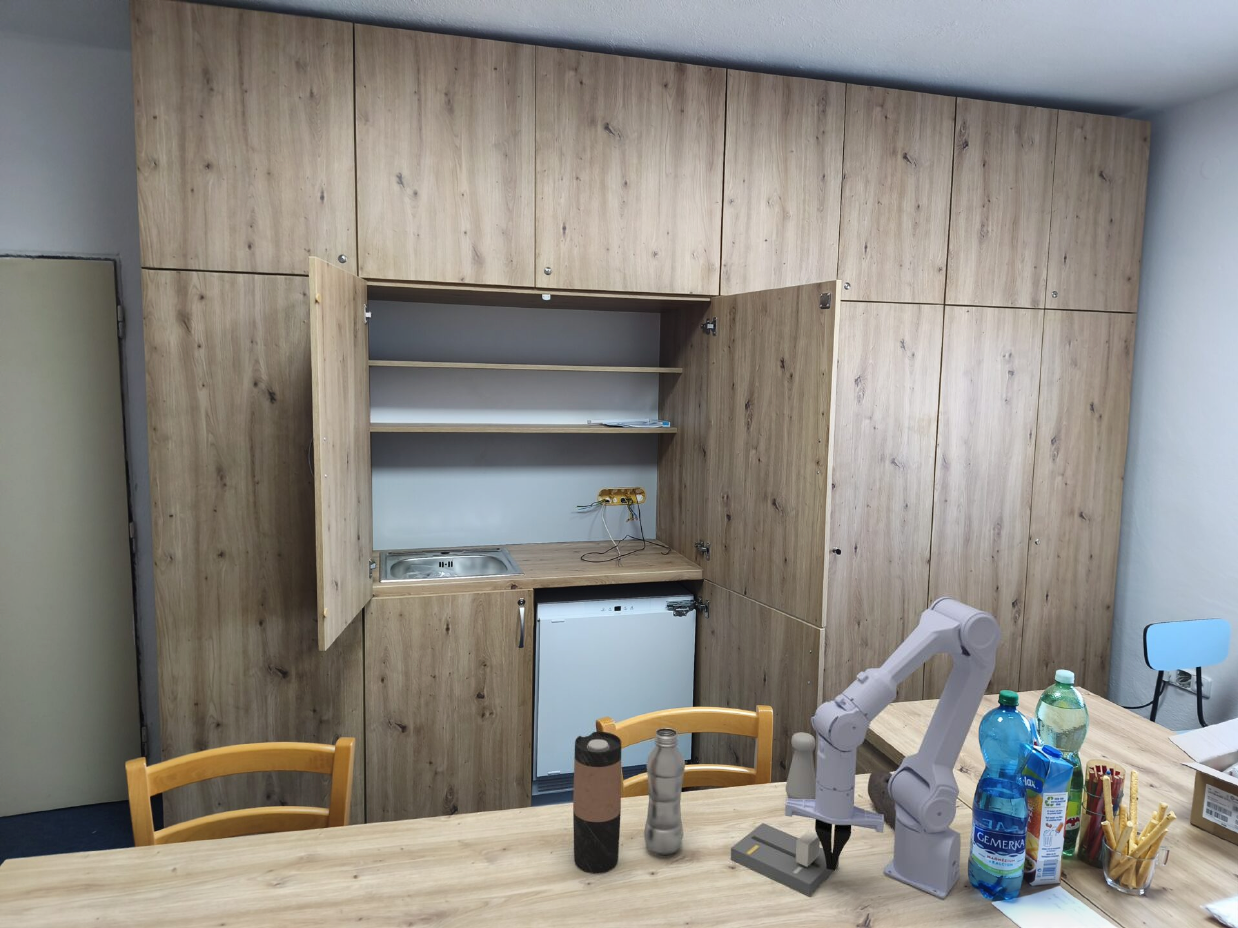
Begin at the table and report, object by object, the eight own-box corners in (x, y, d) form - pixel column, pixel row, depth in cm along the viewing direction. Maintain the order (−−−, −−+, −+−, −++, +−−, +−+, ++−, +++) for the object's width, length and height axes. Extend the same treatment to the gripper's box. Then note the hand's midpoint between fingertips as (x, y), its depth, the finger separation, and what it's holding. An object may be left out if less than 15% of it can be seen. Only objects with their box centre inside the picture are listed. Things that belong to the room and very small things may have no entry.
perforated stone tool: (931, 848, 131) (933, 809, 131) (901, 849, 131) (903, 810, 130) (891, 801, 146) (892, 766, 145) (864, 802, 145) (865, 767, 145)
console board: (838, 866, 125) (839, 854, 125) (809, 896, 118) (809, 883, 118) (762, 833, 134) (762, 822, 134) (730, 859, 127) (731, 846, 127)
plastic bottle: (636, 852, 128) (639, 735, 126) (654, 832, 134) (657, 720, 132) (672, 864, 125) (676, 744, 123) (689, 843, 131) (692, 729, 129)
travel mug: (614, 877, 121) (616, 754, 120) (567, 870, 123) (568, 749, 121) (623, 849, 129) (626, 733, 127) (579, 843, 130) (580, 728, 129)
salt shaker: (820, 811, 142) (823, 742, 141) (788, 810, 142) (791, 741, 141) (812, 794, 148) (815, 728, 147) (782, 794, 148) (785, 728, 147)
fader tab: (819, 855, 124) (820, 834, 124) (807, 866, 121) (808, 845, 121) (807, 850, 125) (808, 829, 125) (795, 861, 122) (796, 840, 122)
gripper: (884, 777, 121) (880, 860, 122) (789, 762, 125) (786, 842, 127) (885, 799, 114) (881, 887, 115) (785, 783, 119) (781, 867, 120)
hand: (831, 865), depth 121 cm, fingers closed
